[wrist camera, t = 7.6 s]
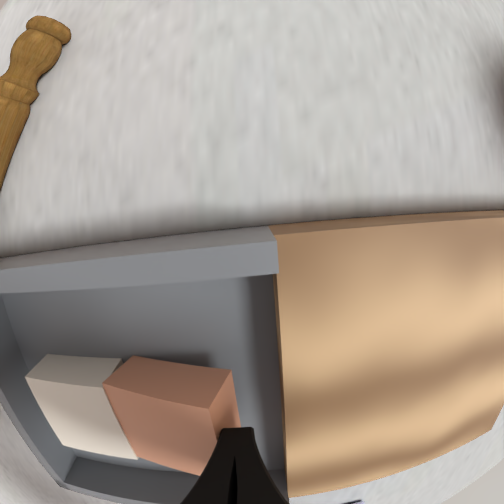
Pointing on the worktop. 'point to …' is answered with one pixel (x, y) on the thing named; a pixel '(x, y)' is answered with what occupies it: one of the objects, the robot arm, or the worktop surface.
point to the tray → (145, 340)
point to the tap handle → (26, 79)
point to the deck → (386, 342)
